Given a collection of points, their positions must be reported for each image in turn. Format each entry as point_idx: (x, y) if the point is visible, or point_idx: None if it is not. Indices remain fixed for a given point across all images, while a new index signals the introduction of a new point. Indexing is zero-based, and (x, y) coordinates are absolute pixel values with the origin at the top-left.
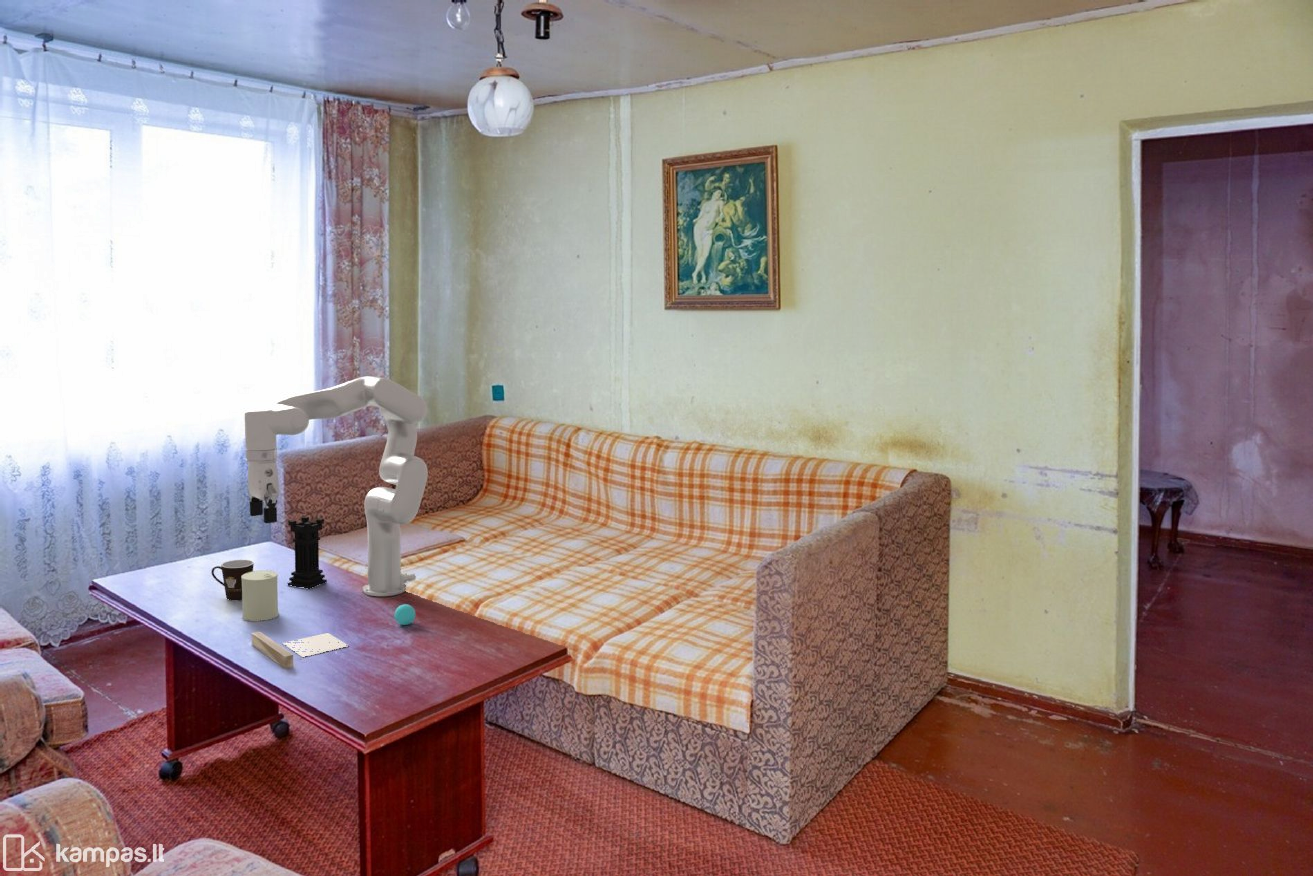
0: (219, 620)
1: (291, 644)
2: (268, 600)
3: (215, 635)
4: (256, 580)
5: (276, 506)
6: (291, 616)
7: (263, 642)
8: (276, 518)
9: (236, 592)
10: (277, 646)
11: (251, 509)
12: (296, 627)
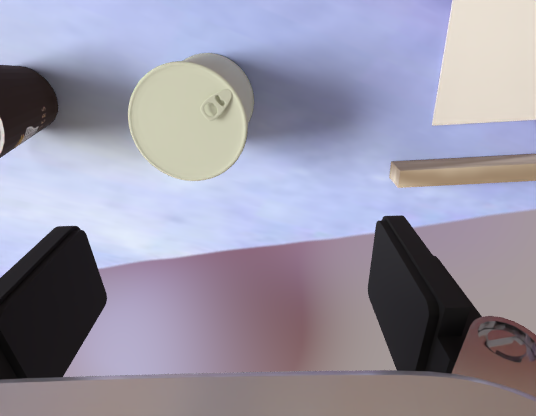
0: (197, 185)
1: (456, 111)
2: (248, 101)
3: (287, 215)
4: (241, 152)
5: (525, 335)
6: (257, 30)
7: (465, 183)
8: (412, 231)
9: (47, 117)
10: (517, 170)
11: (82, 342)
12: (349, 53)
